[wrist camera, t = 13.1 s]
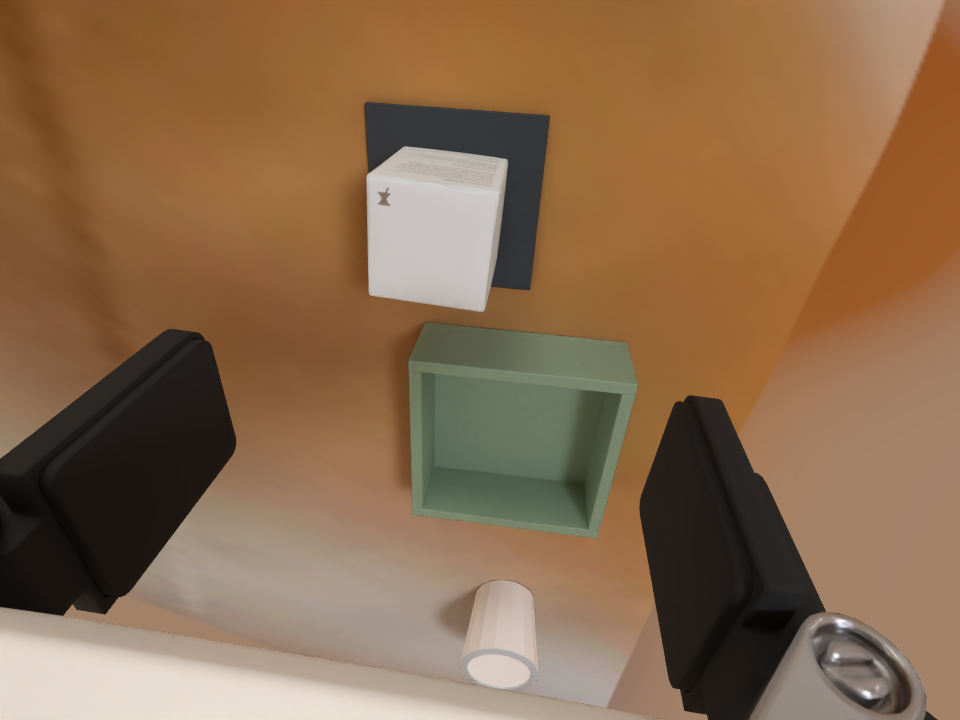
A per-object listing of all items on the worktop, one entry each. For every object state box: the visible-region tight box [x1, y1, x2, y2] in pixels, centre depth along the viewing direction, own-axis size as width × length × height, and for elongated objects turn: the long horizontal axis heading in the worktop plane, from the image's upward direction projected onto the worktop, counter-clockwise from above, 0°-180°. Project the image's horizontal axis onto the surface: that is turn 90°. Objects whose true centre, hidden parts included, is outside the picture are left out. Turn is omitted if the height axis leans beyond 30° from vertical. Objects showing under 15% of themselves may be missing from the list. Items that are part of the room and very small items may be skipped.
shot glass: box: [460, 580, 538, 691], centre depth 47 cm, size 7×7×7 cm
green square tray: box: [408, 322, 638, 538], centre depth 36 cm, size 14×14×5 cm
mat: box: [365, 102, 550, 290], centre depth 30 cm, size 10×10×1 cm
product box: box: [366, 146, 508, 312], centre depth 27 cm, size 6×6×7 cm
